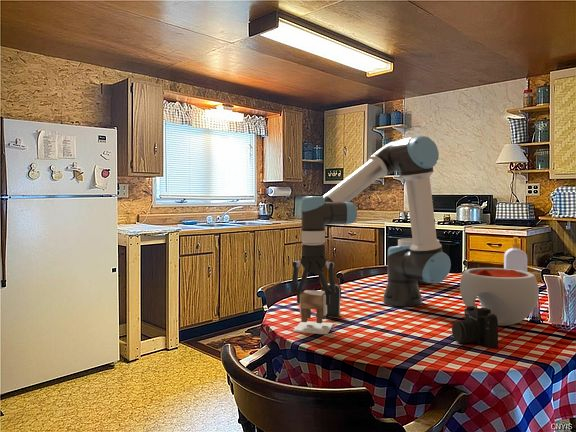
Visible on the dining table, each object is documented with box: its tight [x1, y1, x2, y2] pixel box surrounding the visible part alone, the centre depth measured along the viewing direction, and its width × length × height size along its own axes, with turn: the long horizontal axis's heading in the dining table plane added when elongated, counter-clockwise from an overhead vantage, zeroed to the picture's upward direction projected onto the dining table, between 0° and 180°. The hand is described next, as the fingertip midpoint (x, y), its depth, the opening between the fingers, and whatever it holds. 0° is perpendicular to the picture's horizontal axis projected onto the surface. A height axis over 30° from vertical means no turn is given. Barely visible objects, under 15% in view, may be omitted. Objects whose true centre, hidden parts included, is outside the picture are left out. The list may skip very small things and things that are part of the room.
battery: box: [320, 282, 342, 317], centre depth 166 cm, size 7×4×11 cm, turn 65°
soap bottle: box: [503, 236, 528, 272], centre depth 216 cm, size 9×7×23 cm
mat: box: [292, 320, 335, 335], centre depth 150 cm, size 11×11×1 cm
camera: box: [451, 305, 499, 349], centre depth 134 cm, size 14×11×10 cm
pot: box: [459, 267, 540, 327], centre depth 154 cm, size 24×24×18 cm
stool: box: [299, 289, 327, 323], centre depth 149 cm, size 7×7×9 cm
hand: (313, 313), depth 149 cm, fingers closed on stool, 7 cm apart
